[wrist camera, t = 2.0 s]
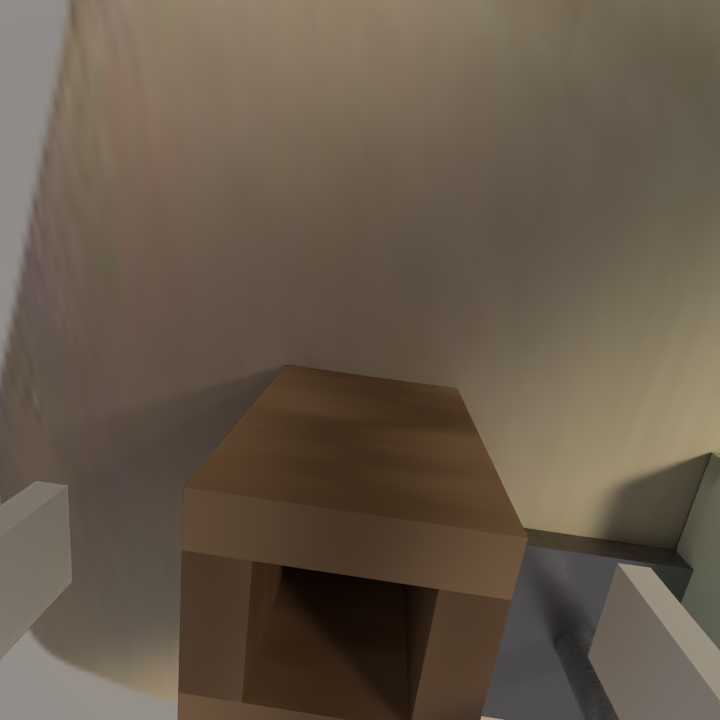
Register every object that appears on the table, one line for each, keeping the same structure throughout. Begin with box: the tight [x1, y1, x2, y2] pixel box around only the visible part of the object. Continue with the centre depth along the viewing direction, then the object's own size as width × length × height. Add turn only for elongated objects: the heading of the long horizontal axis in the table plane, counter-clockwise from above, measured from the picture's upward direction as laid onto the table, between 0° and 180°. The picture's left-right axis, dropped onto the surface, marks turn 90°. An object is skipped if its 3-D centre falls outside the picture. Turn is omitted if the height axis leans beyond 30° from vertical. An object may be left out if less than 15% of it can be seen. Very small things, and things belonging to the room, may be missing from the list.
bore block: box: [178, 365, 528, 720], centre depth 12 cm, size 6×6×8 cm
